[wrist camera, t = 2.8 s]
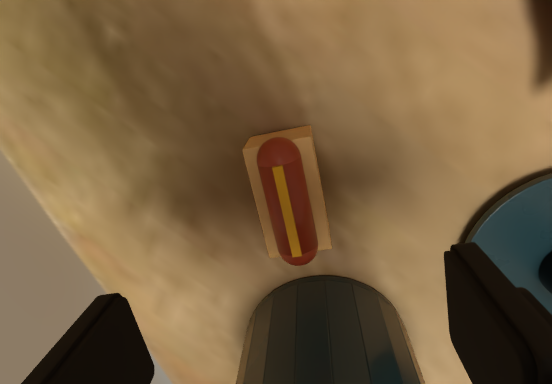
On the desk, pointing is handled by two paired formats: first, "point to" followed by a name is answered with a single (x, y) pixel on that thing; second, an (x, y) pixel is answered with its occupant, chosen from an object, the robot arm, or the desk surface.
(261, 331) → the pot
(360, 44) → the desk surface
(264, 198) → the hot dog
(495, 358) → the robot arm
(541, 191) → the pot lid
